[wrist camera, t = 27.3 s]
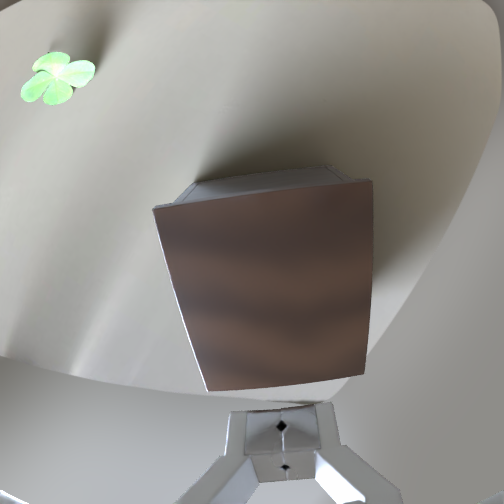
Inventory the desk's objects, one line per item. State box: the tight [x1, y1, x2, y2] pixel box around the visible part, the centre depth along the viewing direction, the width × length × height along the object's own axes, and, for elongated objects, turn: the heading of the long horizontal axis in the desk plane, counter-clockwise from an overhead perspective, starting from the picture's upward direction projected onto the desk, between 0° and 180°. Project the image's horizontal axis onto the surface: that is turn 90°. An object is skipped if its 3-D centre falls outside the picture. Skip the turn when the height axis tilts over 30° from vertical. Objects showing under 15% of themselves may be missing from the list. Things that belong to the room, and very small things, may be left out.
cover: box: [152, 178, 373, 391], centre depth 23 cm, size 16×14×1 cm
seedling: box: [21, 52, 95, 105], centre depth 24 cm, size 7×8×7 cm
